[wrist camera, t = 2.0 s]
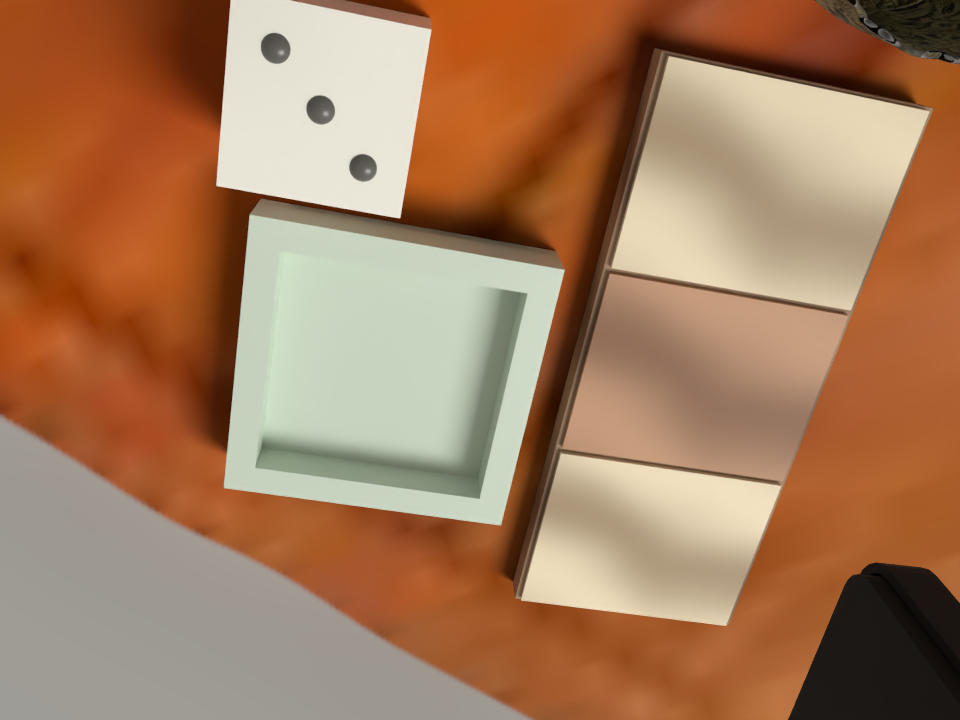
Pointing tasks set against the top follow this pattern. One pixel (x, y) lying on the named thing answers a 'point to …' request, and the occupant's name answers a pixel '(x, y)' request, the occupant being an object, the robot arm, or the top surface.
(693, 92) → the track
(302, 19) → the block
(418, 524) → the top surface
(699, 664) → the top surface
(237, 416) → the tray
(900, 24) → the dark bronze flared dome
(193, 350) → the top surface
